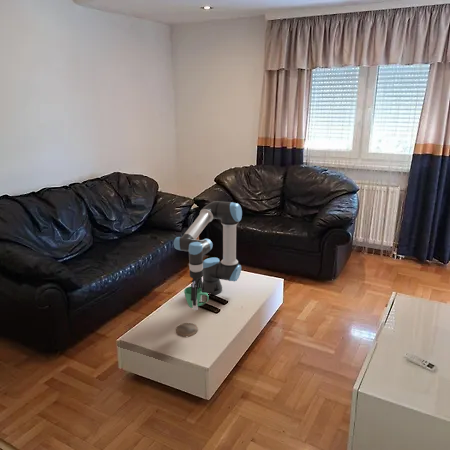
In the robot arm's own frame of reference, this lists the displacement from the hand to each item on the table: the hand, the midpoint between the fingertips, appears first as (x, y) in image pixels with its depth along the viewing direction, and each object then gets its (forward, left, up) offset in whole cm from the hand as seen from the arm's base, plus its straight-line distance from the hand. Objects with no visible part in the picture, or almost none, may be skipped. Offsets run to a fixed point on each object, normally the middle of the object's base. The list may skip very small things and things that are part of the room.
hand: (197, 305), depth 228 cm
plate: (+3, -6, -16) cm, 17 cm away
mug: (0, 0, -1) cm, 1 cm away
